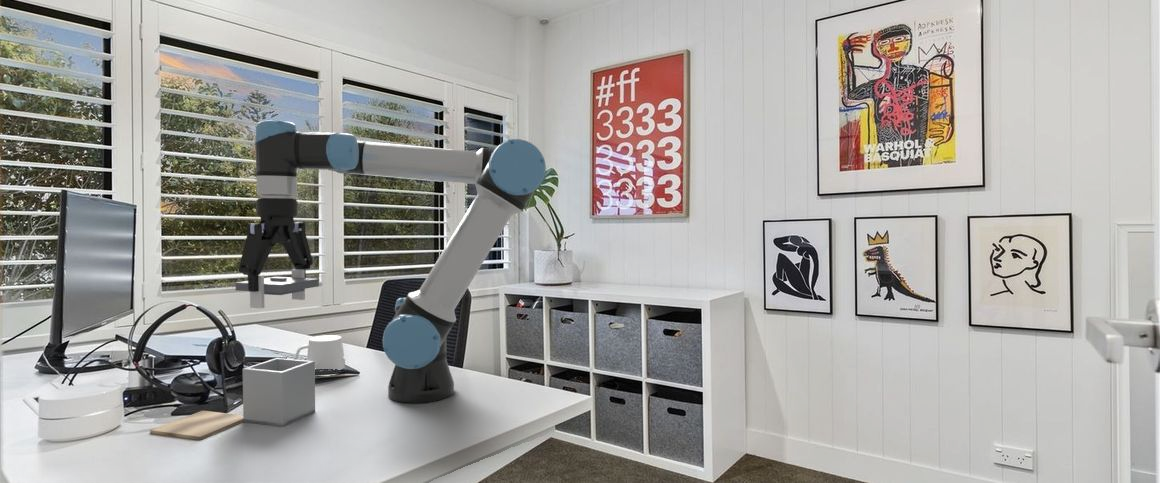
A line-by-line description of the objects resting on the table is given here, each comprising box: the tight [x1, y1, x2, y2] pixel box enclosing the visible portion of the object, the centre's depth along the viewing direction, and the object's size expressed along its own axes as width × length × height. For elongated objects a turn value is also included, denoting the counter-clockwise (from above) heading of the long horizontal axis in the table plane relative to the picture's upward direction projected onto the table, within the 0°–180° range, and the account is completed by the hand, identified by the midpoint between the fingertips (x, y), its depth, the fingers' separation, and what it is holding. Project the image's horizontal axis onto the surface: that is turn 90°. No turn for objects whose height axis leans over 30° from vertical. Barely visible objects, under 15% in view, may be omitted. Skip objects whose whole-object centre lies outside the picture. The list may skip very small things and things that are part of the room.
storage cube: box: [242, 357, 316, 427], centre depth 129 cm, size 10×10×11 cm
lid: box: [234, 276, 320, 296], centre depth 128 cm, size 11×11×3 cm
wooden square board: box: [149, 410, 245, 441], centre depth 124 cm, size 12×12×1 cm
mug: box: [295, 334, 346, 370], centre depth 163 cm, size 12×9×8 cm
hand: (278, 303), depth 128 cm, fingers closed on lid, 11 cm apart
